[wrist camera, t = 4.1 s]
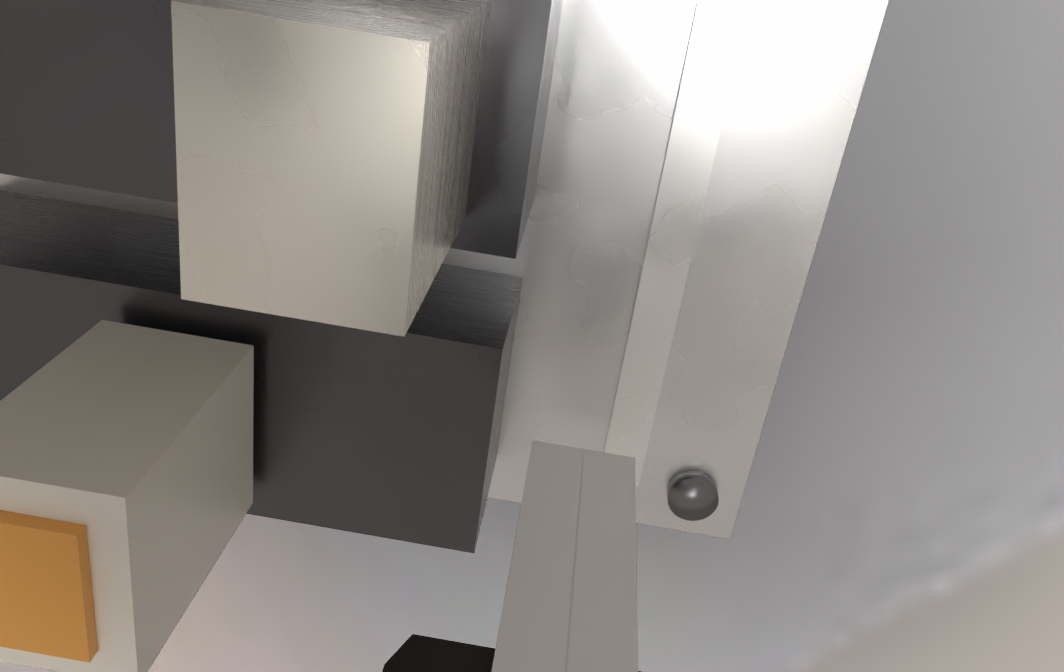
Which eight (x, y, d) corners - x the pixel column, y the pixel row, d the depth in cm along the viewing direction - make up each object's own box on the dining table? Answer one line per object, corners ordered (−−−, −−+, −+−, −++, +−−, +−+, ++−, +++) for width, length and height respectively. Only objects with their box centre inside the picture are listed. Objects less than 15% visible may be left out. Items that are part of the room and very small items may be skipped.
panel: (-137, 336, 21) (-613, 607, 13) (-345, -673, 14) (-1762, -1510, 6) (721, 483, 21) (780, 860, 12) (991, -481, 13) (1572, -1095, 5)
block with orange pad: (114, 478, 15) (-52, 664, 12) (102, 319, 14) (-91, 472, 10) (252, 502, 15) (131, 698, 12) (253, 345, 14) (116, 508, 10)
